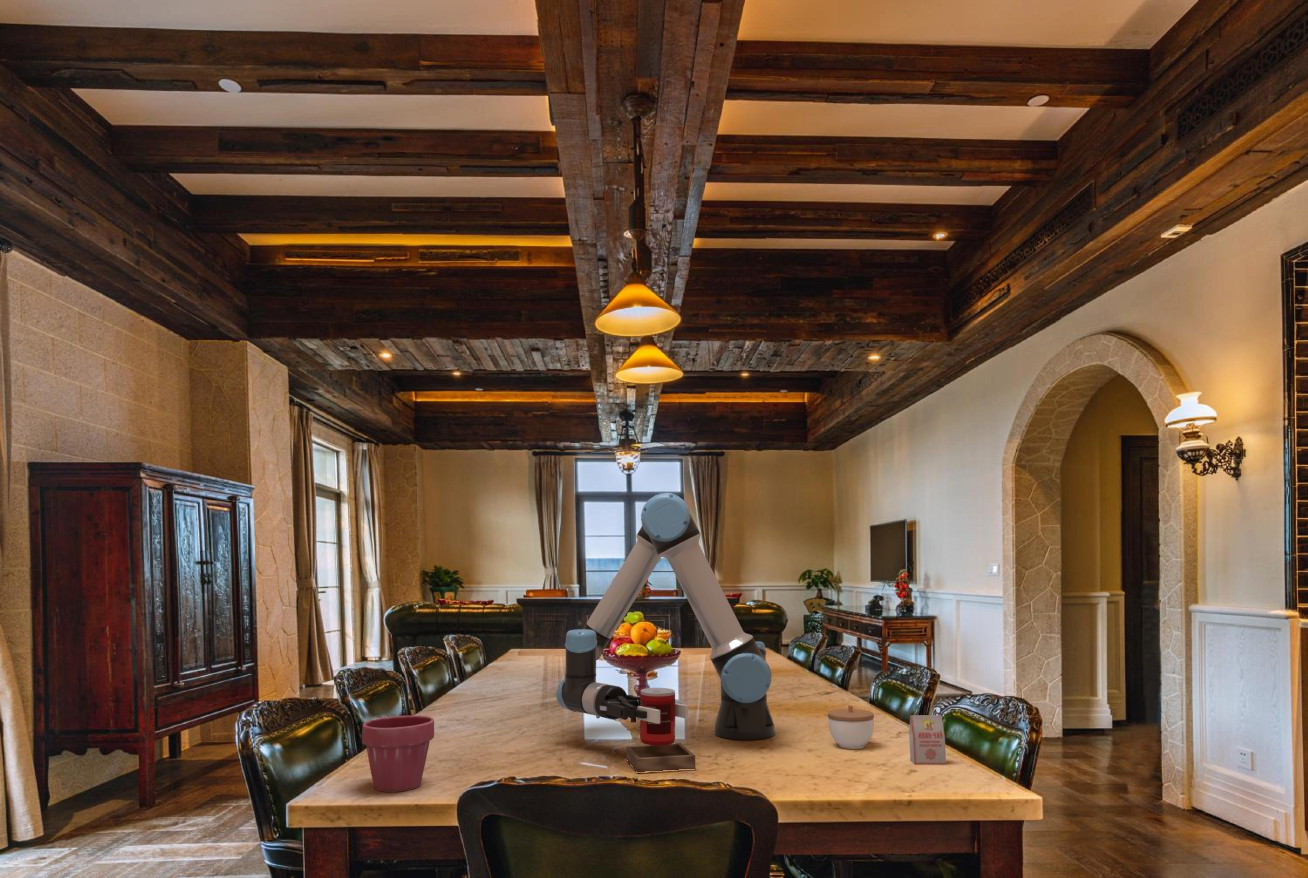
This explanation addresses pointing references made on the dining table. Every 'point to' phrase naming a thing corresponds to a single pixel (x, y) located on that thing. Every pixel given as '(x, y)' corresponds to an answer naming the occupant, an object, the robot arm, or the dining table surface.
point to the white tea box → (927, 740)
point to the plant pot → (397, 750)
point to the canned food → (666, 704)
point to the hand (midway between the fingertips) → (673, 714)
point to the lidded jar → (851, 727)
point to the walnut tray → (660, 757)
